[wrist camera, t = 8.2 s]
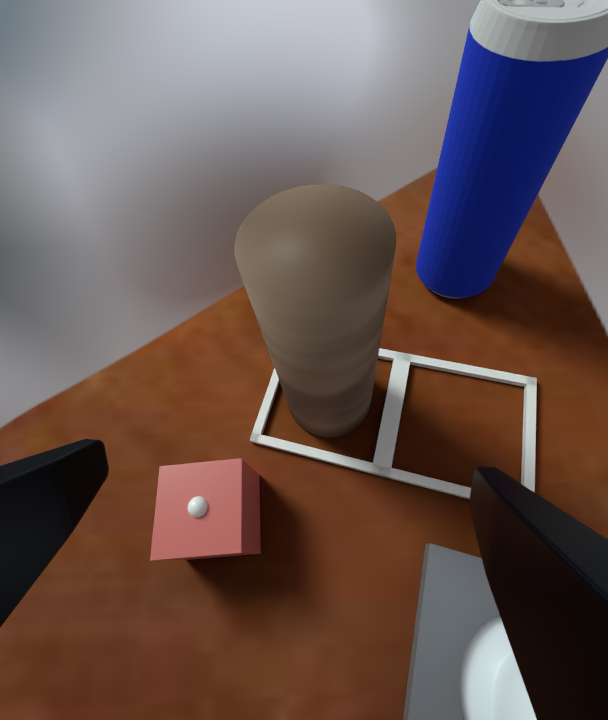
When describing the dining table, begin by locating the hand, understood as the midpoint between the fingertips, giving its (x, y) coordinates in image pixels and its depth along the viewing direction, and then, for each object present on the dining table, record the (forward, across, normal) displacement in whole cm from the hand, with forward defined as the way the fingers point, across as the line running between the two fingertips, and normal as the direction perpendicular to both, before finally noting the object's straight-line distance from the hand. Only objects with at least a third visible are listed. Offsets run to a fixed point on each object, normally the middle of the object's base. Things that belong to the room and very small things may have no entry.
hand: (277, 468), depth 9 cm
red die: (+9, +5, +9) cm, 14 cm away
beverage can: (+21, -8, -3) cm, 22 cm away
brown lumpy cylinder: (+14, 0, +4) cm, 14 cm away
